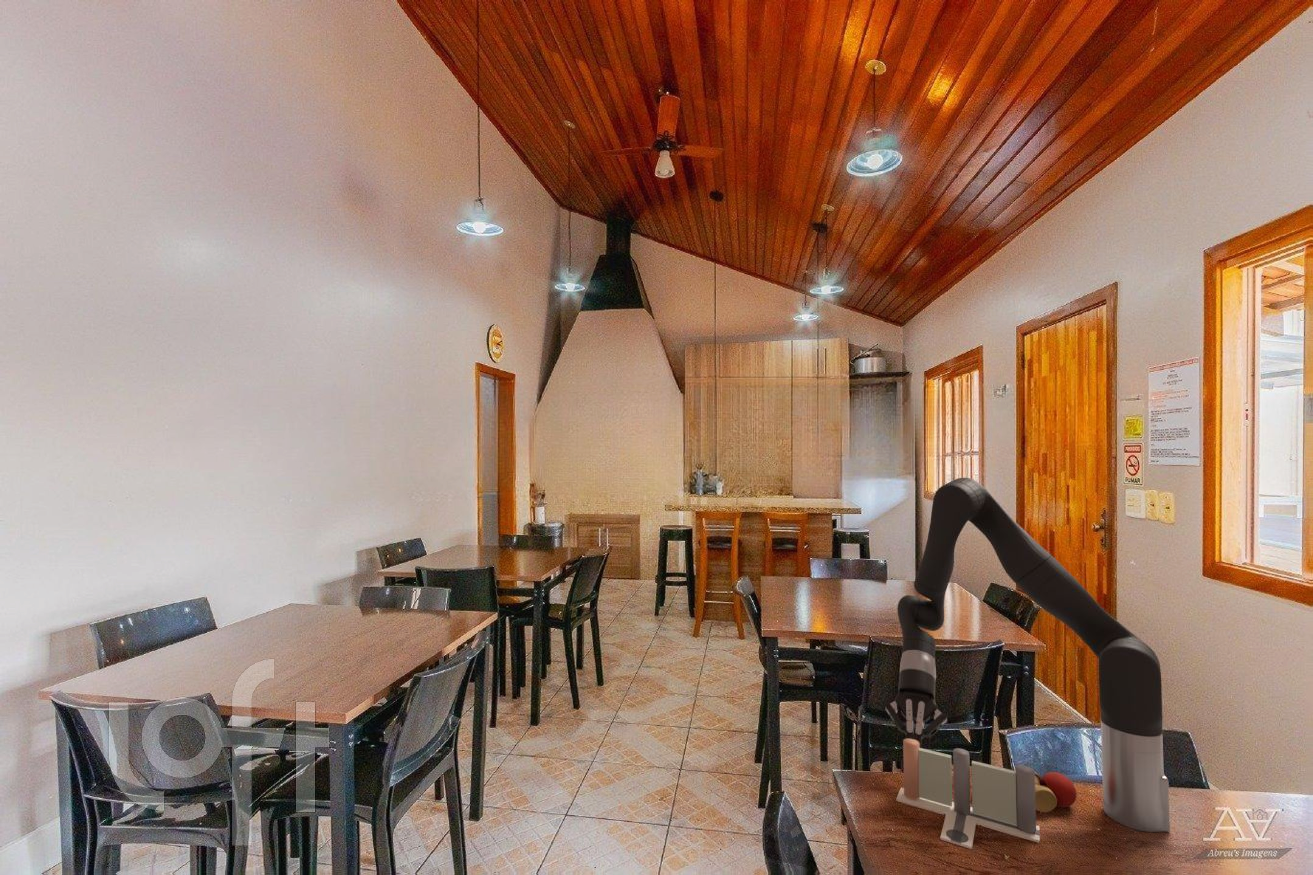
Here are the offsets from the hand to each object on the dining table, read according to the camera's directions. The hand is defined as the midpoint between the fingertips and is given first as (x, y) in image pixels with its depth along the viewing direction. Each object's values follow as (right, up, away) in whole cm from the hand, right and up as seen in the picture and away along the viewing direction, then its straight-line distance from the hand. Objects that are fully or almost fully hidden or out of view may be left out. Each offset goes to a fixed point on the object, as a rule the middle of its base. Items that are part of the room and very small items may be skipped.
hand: (913, 754), depth 123 cm
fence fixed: (+10, -6, -12) cm, 17 cm away
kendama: (+20, -7, -6) cm, 22 cm away
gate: (0, -6, -6) cm, 8 cm away
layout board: (+3, -6, -13) cm, 15 cm away
